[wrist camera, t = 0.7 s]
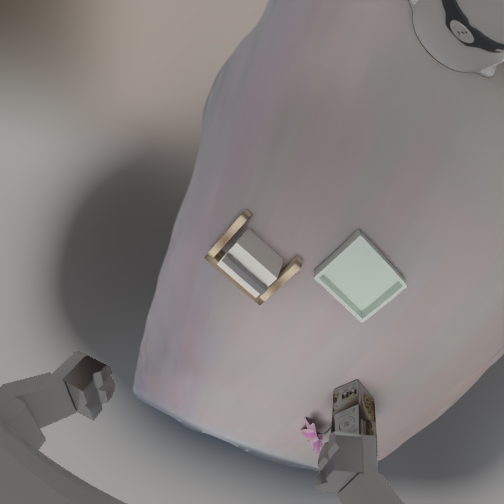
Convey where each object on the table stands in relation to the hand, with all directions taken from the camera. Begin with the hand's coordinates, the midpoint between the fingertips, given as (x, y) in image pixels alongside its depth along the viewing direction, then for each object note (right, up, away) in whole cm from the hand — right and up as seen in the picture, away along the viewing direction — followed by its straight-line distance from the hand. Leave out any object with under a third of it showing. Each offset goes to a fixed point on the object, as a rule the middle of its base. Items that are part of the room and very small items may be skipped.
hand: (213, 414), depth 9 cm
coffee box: (+24, -26, +50) cm, 62 cm away
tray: (+20, +2, +39) cm, 44 cm away
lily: (+18, -37, +57) cm, 70 cm away
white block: (+2, +5, +43) cm, 43 cm away
